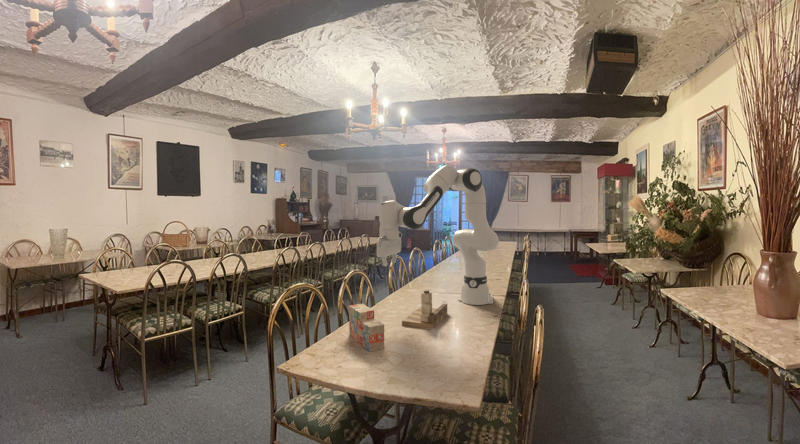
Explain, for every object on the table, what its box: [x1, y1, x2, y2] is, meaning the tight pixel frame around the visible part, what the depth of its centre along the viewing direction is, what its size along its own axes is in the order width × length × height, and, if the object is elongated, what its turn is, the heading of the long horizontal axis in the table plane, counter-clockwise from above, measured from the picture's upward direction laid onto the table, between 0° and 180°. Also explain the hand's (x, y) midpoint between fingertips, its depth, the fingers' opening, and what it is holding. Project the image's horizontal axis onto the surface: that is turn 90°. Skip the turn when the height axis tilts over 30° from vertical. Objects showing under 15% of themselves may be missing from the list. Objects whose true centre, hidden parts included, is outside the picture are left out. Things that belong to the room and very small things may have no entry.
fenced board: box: [401, 303, 448, 330], centre depth 171 cm, size 23×14×5 cm, turn 157°
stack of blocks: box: [348, 303, 385, 353], centre depth 145 cm, size 21×6×12 cm, turn 28°
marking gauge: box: [420, 289, 433, 322], centre depth 164 cm, size 7×4×13 cm, turn 157°
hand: (389, 264), depth 174 cm, fingers open, 8 cm apart
